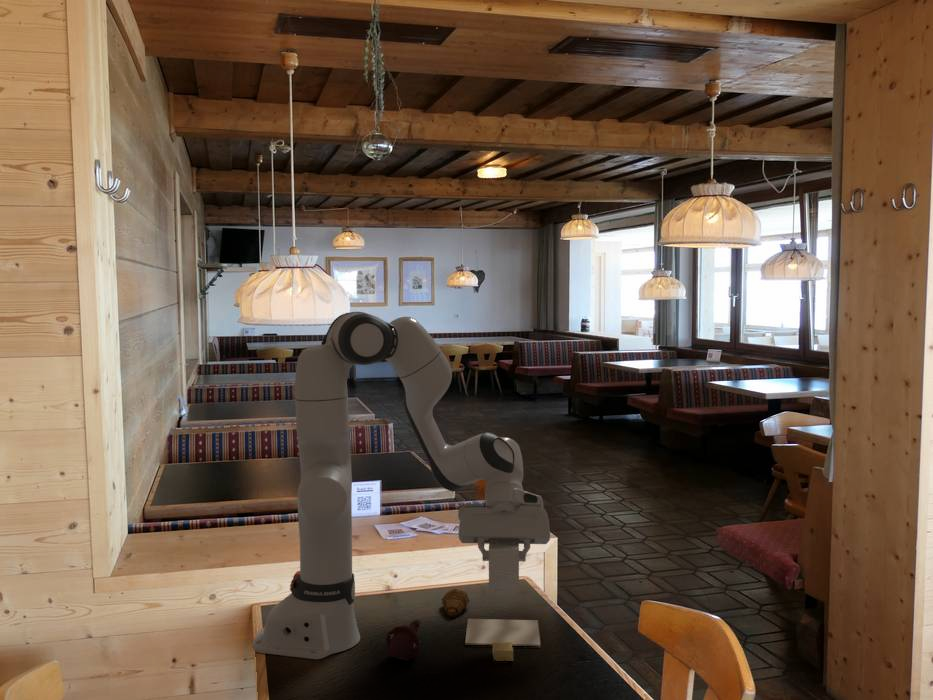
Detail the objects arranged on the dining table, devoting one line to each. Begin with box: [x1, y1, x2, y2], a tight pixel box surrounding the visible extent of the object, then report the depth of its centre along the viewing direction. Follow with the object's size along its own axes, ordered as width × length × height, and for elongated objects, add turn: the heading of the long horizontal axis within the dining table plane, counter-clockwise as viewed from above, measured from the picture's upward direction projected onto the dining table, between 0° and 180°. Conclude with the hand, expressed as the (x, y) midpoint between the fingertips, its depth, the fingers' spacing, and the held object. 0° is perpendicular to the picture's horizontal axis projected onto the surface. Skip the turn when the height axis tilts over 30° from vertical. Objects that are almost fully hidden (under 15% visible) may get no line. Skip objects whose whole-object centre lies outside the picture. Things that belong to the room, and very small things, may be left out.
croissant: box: [441, 588, 471, 619], centre depth 190 cm, size 14×7×5 cm, turn 173°
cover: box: [488, 540, 520, 592], centre depth 172 cm, size 6×6×9 cm
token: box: [491, 642, 514, 662], centre depth 164 cm, size 4×4×2 cm
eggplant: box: [385, 619, 422, 660], centre depth 163 cm, size 7×7×15 cm
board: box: [464, 618, 541, 648], centre depth 175 cm, size 16×13×1 cm
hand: (503, 560), depth 171 cm, fingers closed on cover, 6 cm apart
